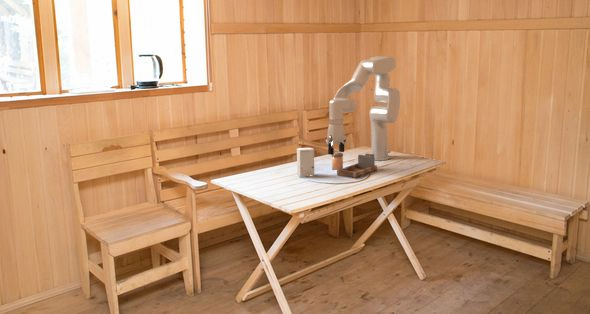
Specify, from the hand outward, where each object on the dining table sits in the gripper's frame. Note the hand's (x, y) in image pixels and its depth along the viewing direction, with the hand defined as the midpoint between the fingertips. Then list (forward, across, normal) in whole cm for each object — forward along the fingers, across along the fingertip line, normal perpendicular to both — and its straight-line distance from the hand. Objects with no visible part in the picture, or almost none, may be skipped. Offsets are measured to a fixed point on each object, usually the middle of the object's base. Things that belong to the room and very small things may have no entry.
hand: (336, 153), depth 309 cm
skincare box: (+10, +19, -6) cm, 22 cm away
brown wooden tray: (+9, 0, +14) cm, 17 cm away
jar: (+10, -1, 0) cm, 10 cm away
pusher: (+8, -10, +14) cm, 19 cm away
